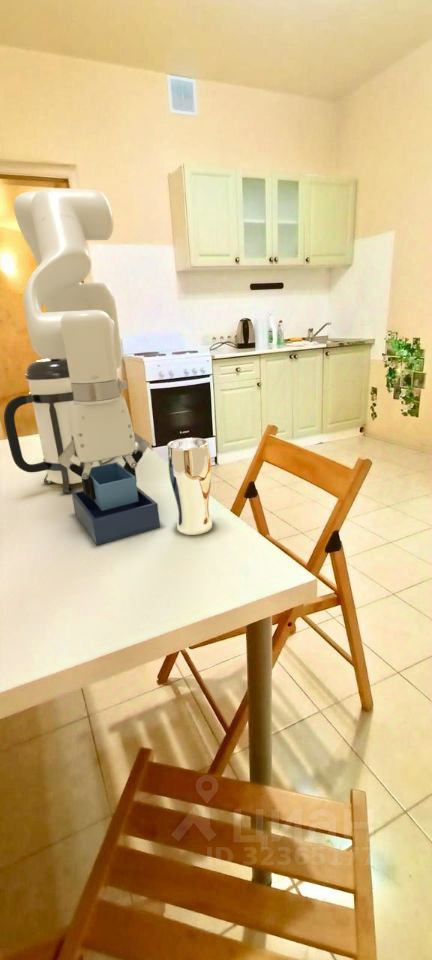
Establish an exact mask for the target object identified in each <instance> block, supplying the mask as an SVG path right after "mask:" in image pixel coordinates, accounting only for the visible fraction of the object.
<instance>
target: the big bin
mask: <svg viewBox="0 0 432 960" xmlns="http://www.w3.org/2000/svg"><path fill="white" fill-rule="evenodd" d="M137 492H138V500H139V501H138V502H134V503H130V504H126V505H122V506H119V507H115V508H111V509H107V510H103V511H102V510H101V509H100V508H99V506H98V505H97V504H96V503H95V502H94V500H91V498H90V497H89V496H88V495H85V493H84V490H83V489H82V490H79V491H74V492H71V497H72V498H71V499H72V503H73V508H74V514H75V516H76V518H77V519H78V521H79V522H80V523H81V526H82V527H83V528H84V529H85V530H86V532H87V533H88V535H89V537H90V538H91V539H92V541H93V542H94V544H95V545H96V546H100V545H103V544H107V543H110V542H114V541H116V540H121V539H124V538H127V537H131V536H134V535H138V534H141V533H144V532H149V531H152V530H154V529H159V528H160V527H161V522H160V515H159V514H160V513H159V505H158V503H157V502H156V501H155V500H154V499H153V498H152V497H150V496H149V495H148V494H147V493H146V492H145V491H143V490H142V489H141V488H140V487H138V486H137Z"/></svg>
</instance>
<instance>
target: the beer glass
mask: <svg viewBox="0 0 432 960" xmlns="http://www.w3.org/2000/svg"><path fill="white" fill-rule="evenodd" d="M210 454H211V453H210V447H209V441H208V440H207V439H205V438H201V437H185V438H179V439H174V440H171V441H169V442H168V443H167V466H168V475H169V476H168V477H169V481H170V486H171V488H172V493H173V495H174V496H173V497H174V499H175V503H176V507H177V508H176V509H177V521H176V529H177V531H178V532H179V533H180V534H182V535H186V536H197V535H202V534H203V535H204V534H205V533H207V532H209V531H211V529H212V528H213V521H212V517H211V513H210V505H209V504H210V502H209V501H210V494H211V493H210V492H211V486H212V485H211V484H212V461H211V455H210Z"/></svg>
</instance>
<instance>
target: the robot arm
mask: <svg viewBox="0 0 432 960" xmlns="http://www.w3.org/2000/svg"><path fill="white" fill-rule="evenodd" d="M13 200H14V201H13V211H14V216H15V220H16V222H17V225H18V228H19V230H20V234H21V235H22V237H23V239H24V241H25V243H26V244H27V246H28V248H29V250H30V252H31V253H32V255H33V258H34V260H35V262H36V268H35V269H34V271H32V273H31V275H30V277H29V279H28V281H27V282H26V285H25V289H24V292H23V312H24V317H25V322H26V328H27V333H28V338H29V342H30V345H31V347H32V350H33V351H34V353H36V355H37V356H38V357H40V358H41V359H61V358H67V364H68V370H69V376H70V382H71V388H72V394H73V399H74V401H72V402H69V428H70V438H71V442H70V444H69V445H68V446H67V448H66V449H65V450H64V451H63V453H62V454H61V455H60V457H59V458H58V461H59V462H60V464H62V465H63V466H65V467H66V468H68V469H70V470H71V471H72V472H74V473H76V474H77V475H79V476H80V477H81V478H82V482H81V483H82V490H84V493H85V495H88V496H89V497H90V498H91V500H95V499H96V497H95V491H94V485H93V478H92V477H91V476H90V471H91V467H92V464H93V462H96V461H101V460H102V464H106V463H107V462H109V461H111V460H112V459H116V458H120V457H121V458H122V460H123V461H124V465H123V468H125V469H126V470H127V471H128V472H130V473H131V474H132V475H133V476H135V477H136V478H137V473H136V468H137V467H138V463H139V462H140V460H141V459H142V457H143V456H144V453H145V452H146V451H147V449H148V448H149V446H150V441H148V440H146V439H145V438H144V437H142V436H141V435H139V434H138V433H136V432H134V427H133V422H132V418H131V414H130V411H129V408H128V405H127V401H126V399H125V396H123V395H122V391H123V390H125V389H126V390H127V389H128V382H127V380H121V379H120V378H119V375H118V369H119V368H120V367H121V366H122V362H123V353H122V343H121V336H120V328H119V320H118V319H119V318H118V312H117V305H116V300H115V295H114V293H113V291H112V289H111V288H110V287H109V285H108V284H105V283H104V282H103V283H102V282H83V281H84V280H85V279H86V278H87V277H88V276H89V274H90V272H91V270H92V269H91V268H92V259H91V256H90V253H89V248H88V245H87V244H88V243H87V241H108V240H110V239H111V237H112V235H113V233H114V232H113V230H114V217H113V216H114V215H113V211H112V208H111V205H110V202H109V200H108V198H107V197H106V195H105V194H104V193H103V192H102V191H100V190H99V189H94V188H93V189H92V188H68V187H67V188H66V187H50V188H49V187H48V188H43V189H41V190H33V191H26V192H22V193H19V194H18V195H17V196H16V197H15V198H14V199H13ZM43 306H44V309H45V312H42V308H43ZM136 444H137V446H136ZM73 454H74V456H76V457H78V459H79V461H81V462H80V466H78V465H76V464H75V463H73V462H72V461H70V458H71V457H72V455H73ZM137 482H138V481H137V479H136V484H138V483H137Z"/></svg>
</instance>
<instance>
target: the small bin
mask: <svg viewBox="0 0 432 960" xmlns="http://www.w3.org/2000/svg"><path fill="white" fill-rule="evenodd" d="M123 467H124V465H121V463H119V462H118V461H114V462H110V463H104V464H103V465H100V466H95V467H91V471H90V476H91V477H92V478H93V485H94V491H95V497H96V499H95V500H94V502H95V503H96V504H97V505H98V506H99V508H100V509H101V510H102V511H103V510H107V509H111V508H115V507H119V506H122V505H126V504H130V503H134V502H138V501H139V500H138V492H137V487H138V486H137V485H138V483H136V480H137V476H136V477H135V476H133V475H132V474H131V473H130V472H128V471H127V470H126V469H125V468H123Z"/></svg>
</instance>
